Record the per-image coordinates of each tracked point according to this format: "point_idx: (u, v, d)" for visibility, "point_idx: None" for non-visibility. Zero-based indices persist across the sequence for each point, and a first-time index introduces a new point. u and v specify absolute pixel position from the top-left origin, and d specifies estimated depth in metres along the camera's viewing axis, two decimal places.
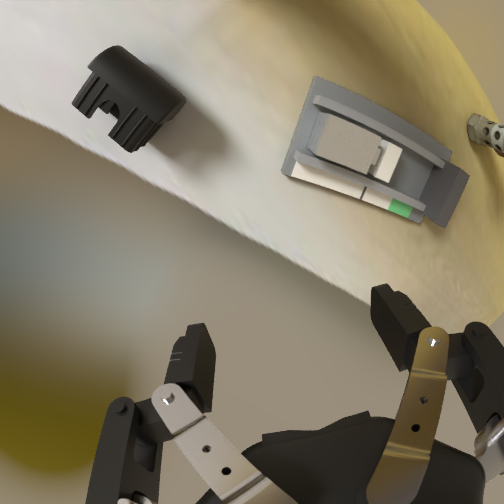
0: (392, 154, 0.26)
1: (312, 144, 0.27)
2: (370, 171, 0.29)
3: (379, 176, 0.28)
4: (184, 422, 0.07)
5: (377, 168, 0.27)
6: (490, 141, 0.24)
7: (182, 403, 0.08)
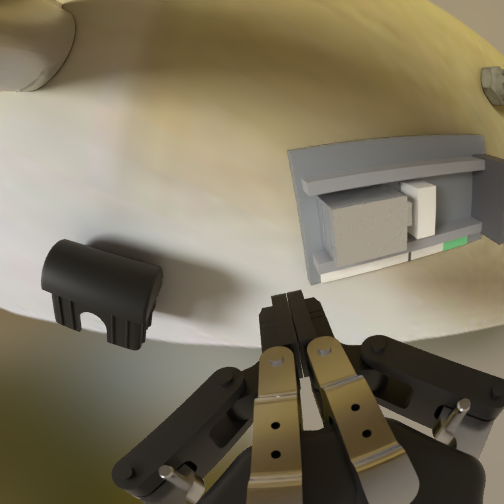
0: (426, 200, 0.19)
1: (327, 245, 0.21)
2: (408, 230, 0.21)
3: (421, 235, 0.20)
4: (276, 390, 0.08)
5: (415, 227, 0.20)
6: None
7: (286, 371, 0.08)
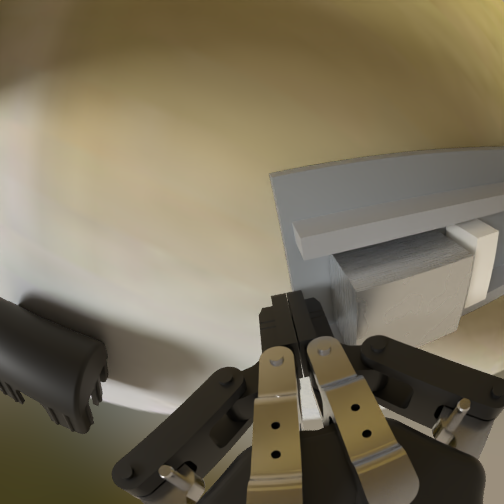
0: (485, 254, 0.10)
1: (341, 326, 0.13)
2: None
3: (470, 302, 0.12)
4: (276, 390, 0.08)
5: None
6: None
7: (286, 371, 0.08)
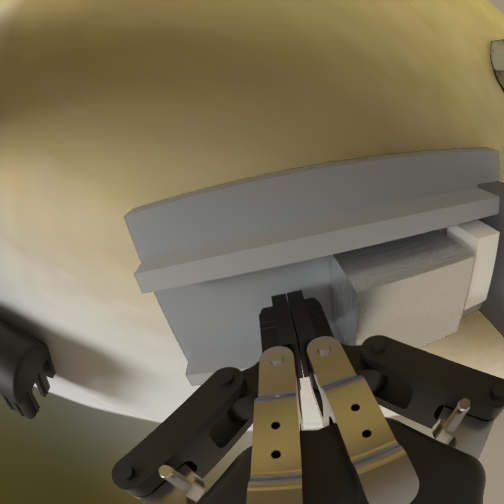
0: (486, 255, 0.10)
1: (341, 326, 0.13)
2: None
3: (471, 304, 0.12)
4: (276, 390, 0.08)
5: None
6: None
7: (286, 371, 0.08)
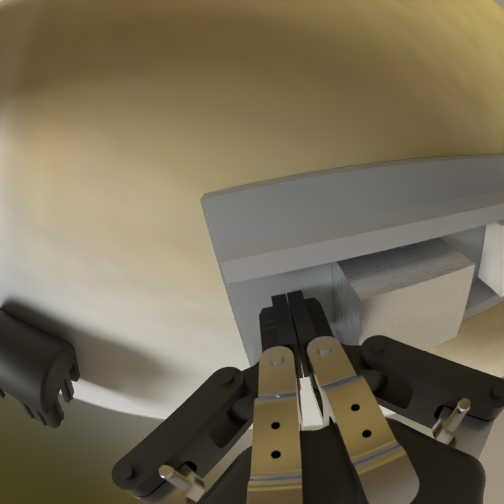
0: None
1: (342, 331, 0.13)
2: (489, 283, 0.13)
3: None
4: (276, 390, 0.08)
5: (501, 282, 0.12)
6: None
7: (286, 371, 0.08)
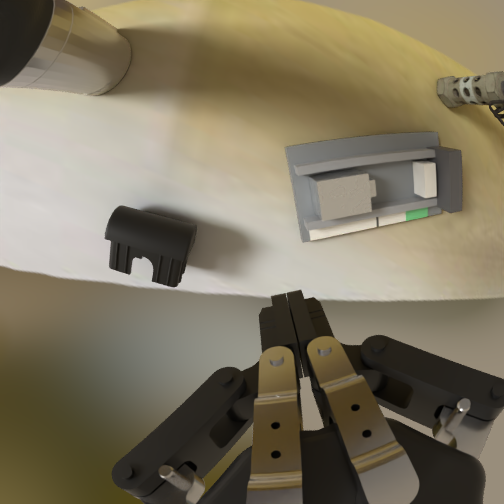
0: (430, 172, 0.28)
1: (316, 209, 0.31)
2: (419, 193, 0.31)
3: (428, 195, 0.29)
4: (276, 390, 0.08)
5: (423, 190, 0.29)
6: (464, 100, 0.23)
7: (286, 371, 0.08)
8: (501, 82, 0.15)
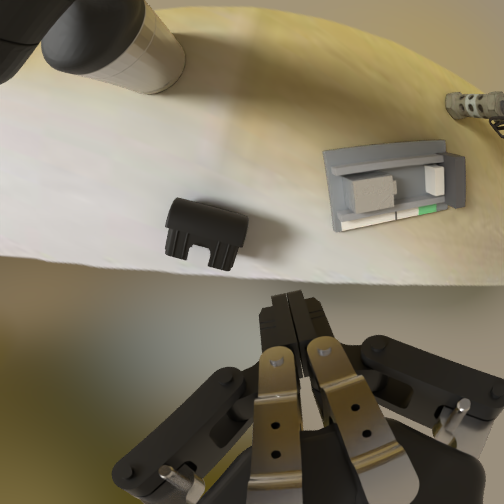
0: (439, 174, 0.33)
1: (349, 204, 0.36)
2: (430, 192, 0.36)
3: (437, 194, 0.34)
4: (276, 390, 0.08)
5: (434, 189, 0.34)
6: (468, 114, 0.28)
7: (286, 371, 0.08)
8: (500, 101, 0.20)
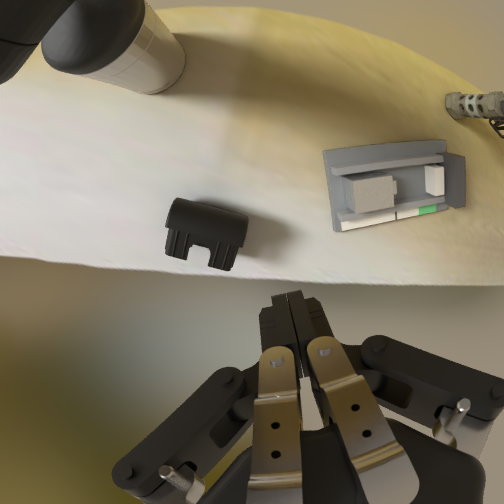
0: (439, 174, 0.33)
1: (349, 204, 0.36)
2: (430, 192, 0.36)
3: (437, 194, 0.34)
4: (276, 390, 0.08)
5: (434, 189, 0.34)
6: (468, 114, 0.28)
7: (286, 371, 0.08)
8: (500, 101, 0.20)
